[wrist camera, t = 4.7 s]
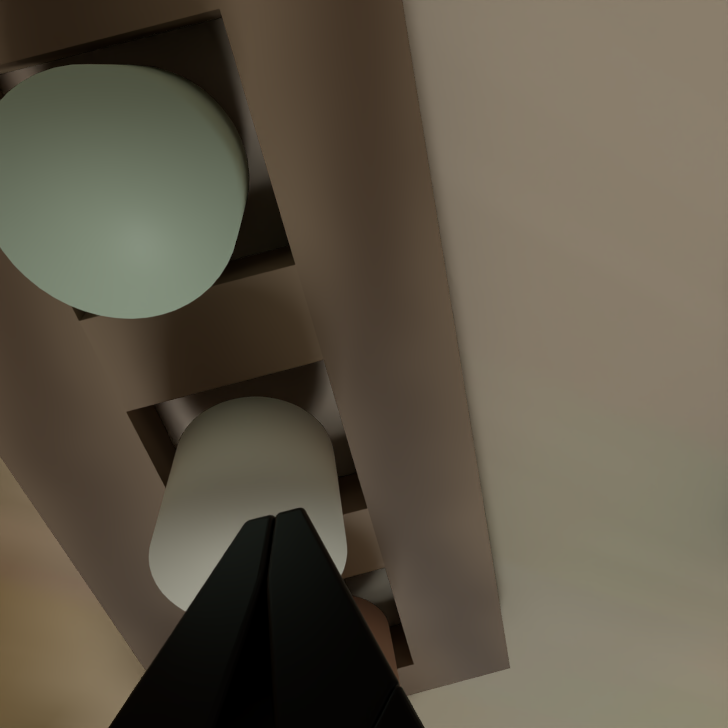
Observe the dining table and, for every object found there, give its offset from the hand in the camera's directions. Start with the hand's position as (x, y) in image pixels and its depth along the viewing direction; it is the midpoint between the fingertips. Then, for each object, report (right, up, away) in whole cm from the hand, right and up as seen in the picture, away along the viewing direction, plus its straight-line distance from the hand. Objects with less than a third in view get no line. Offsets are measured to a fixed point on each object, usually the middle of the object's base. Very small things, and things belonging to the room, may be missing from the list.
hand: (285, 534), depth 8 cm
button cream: (-2, -1, +10) cm, 10 cm away
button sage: (-4, +7, +7) cm, 11 cm away
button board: (-3, 0, +12) cm, 12 cm away
